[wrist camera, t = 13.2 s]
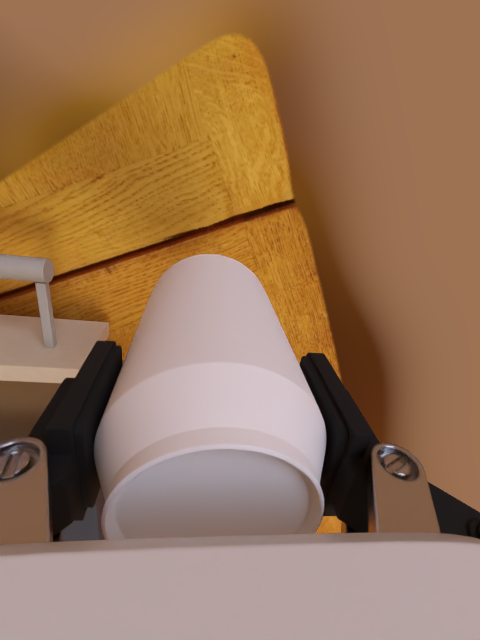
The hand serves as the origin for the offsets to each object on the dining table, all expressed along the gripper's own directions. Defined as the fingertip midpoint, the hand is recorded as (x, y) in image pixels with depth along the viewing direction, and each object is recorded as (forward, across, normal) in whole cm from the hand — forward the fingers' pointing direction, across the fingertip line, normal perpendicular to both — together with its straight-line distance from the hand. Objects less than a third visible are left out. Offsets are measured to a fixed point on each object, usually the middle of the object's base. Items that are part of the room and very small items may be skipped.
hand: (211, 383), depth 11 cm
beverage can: (+7, 0, 0) cm, 7 cm away
